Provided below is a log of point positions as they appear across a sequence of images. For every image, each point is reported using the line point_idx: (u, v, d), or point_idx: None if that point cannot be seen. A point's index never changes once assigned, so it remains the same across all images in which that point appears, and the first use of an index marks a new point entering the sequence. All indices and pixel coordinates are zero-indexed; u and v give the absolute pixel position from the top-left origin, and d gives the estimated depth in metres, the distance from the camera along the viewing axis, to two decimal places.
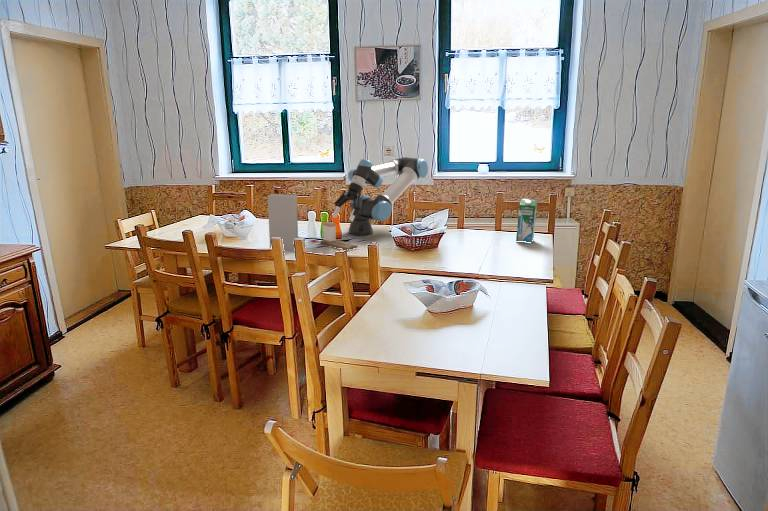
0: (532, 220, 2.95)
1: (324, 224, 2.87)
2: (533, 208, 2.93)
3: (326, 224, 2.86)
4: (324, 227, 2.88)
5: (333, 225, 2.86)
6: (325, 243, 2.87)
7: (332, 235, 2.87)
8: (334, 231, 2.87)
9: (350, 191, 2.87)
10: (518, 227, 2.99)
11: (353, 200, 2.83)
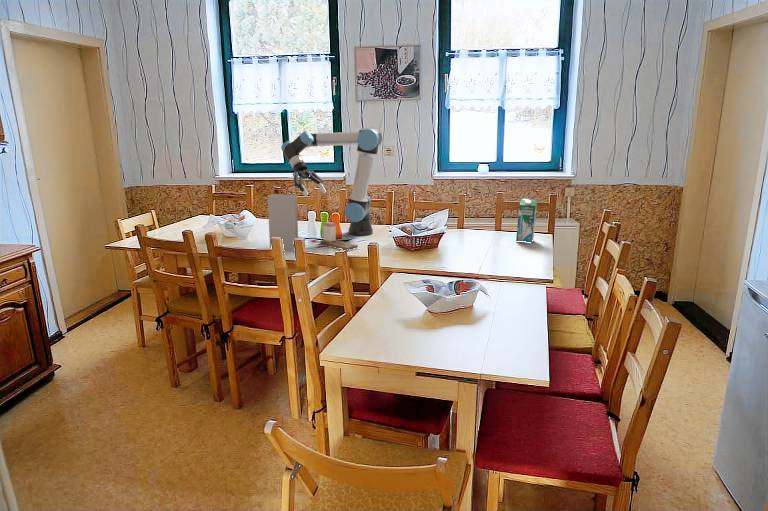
0: (532, 220, 2.95)
1: (324, 224, 2.87)
2: (533, 208, 2.93)
3: (326, 224, 2.86)
4: (324, 227, 2.88)
5: (333, 225, 2.86)
6: (325, 243, 2.87)
7: (332, 235, 2.87)
8: (334, 231, 2.87)
9: None
10: (518, 227, 2.99)
11: None
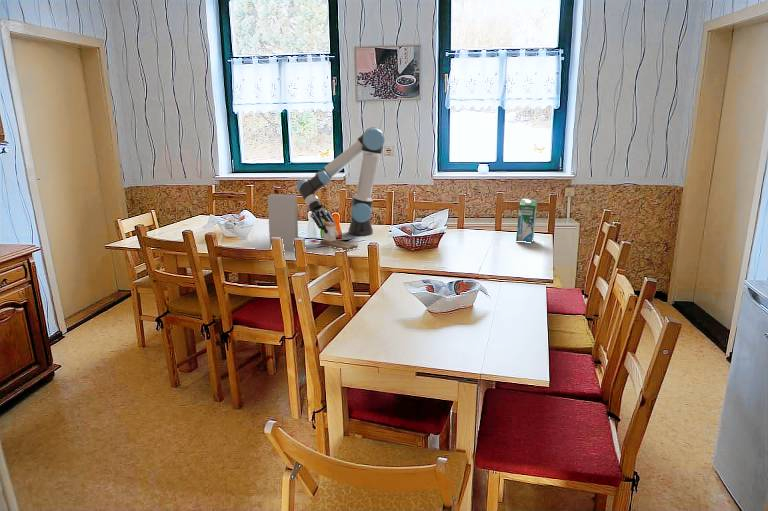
0: (532, 220, 2.95)
1: None
2: (533, 208, 2.93)
3: (326, 224, 2.86)
4: None
5: (333, 225, 2.86)
6: (325, 243, 2.87)
7: (332, 235, 2.87)
8: (334, 231, 2.87)
9: None
10: (518, 227, 2.99)
11: None
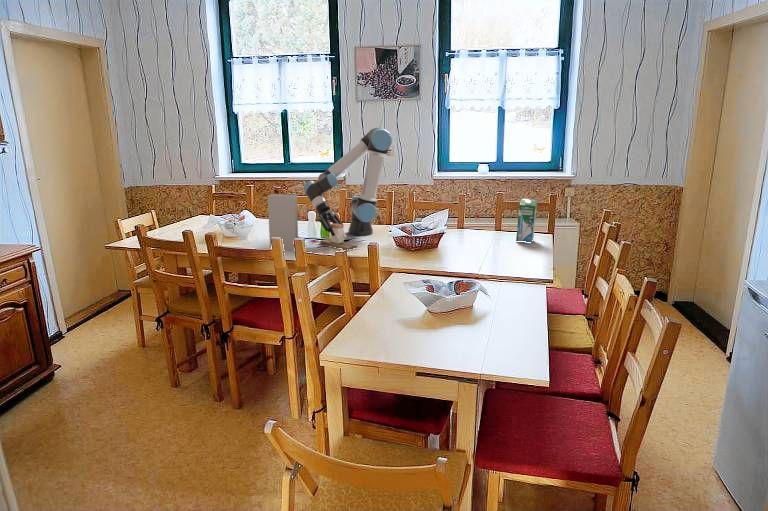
0: (532, 220, 2.95)
1: (332, 226, 2.83)
2: (533, 208, 2.93)
3: (334, 226, 2.82)
4: None
5: (341, 227, 2.82)
6: (325, 243, 2.87)
7: (340, 237, 2.83)
8: (342, 233, 2.83)
9: None
10: (518, 227, 2.99)
11: None
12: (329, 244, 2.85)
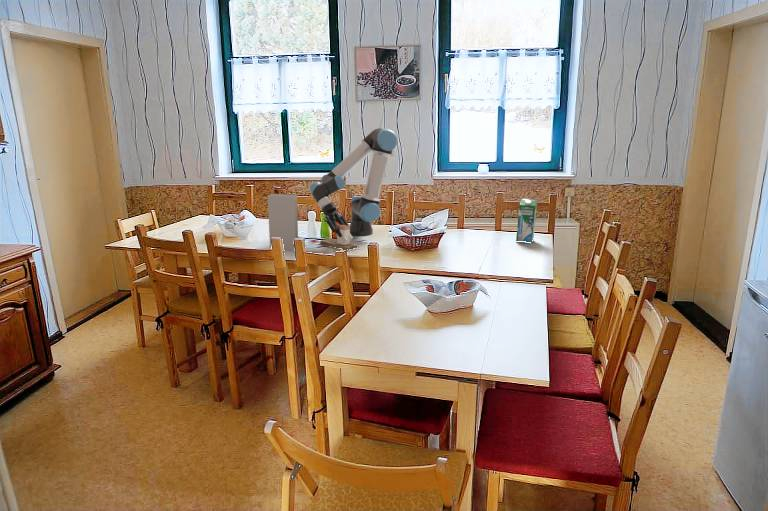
0: (532, 220, 2.95)
1: None
2: (533, 208, 2.93)
3: (340, 227, 2.79)
4: None
5: (347, 228, 2.79)
6: (325, 243, 2.87)
7: (347, 239, 2.80)
8: (348, 234, 2.80)
9: None
10: (518, 227, 2.99)
11: None
12: (329, 244, 2.85)
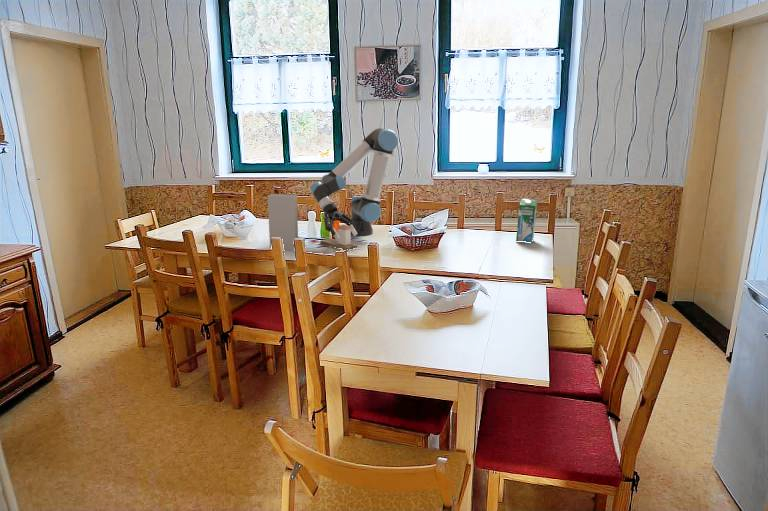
0: (532, 220, 2.95)
1: (339, 227, 2.80)
2: (533, 208, 2.93)
3: (341, 227, 2.79)
4: (338, 230, 2.80)
5: (348, 228, 2.78)
6: (325, 243, 2.87)
7: (347, 239, 2.80)
8: (349, 235, 2.80)
9: None
10: (518, 227, 2.99)
11: None
12: (329, 244, 2.85)
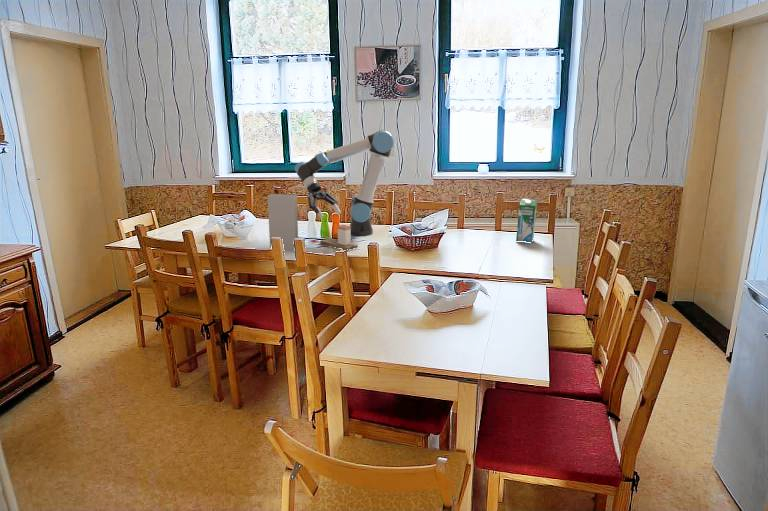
0: (532, 220, 2.95)
1: (339, 227, 2.80)
2: (533, 208, 2.93)
3: (341, 227, 2.79)
4: (338, 230, 2.80)
5: (348, 228, 2.78)
6: (325, 243, 2.87)
7: (347, 239, 2.80)
8: (349, 235, 2.80)
9: None
10: (518, 227, 2.99)
11: None
12: (329, 244, 2.85)
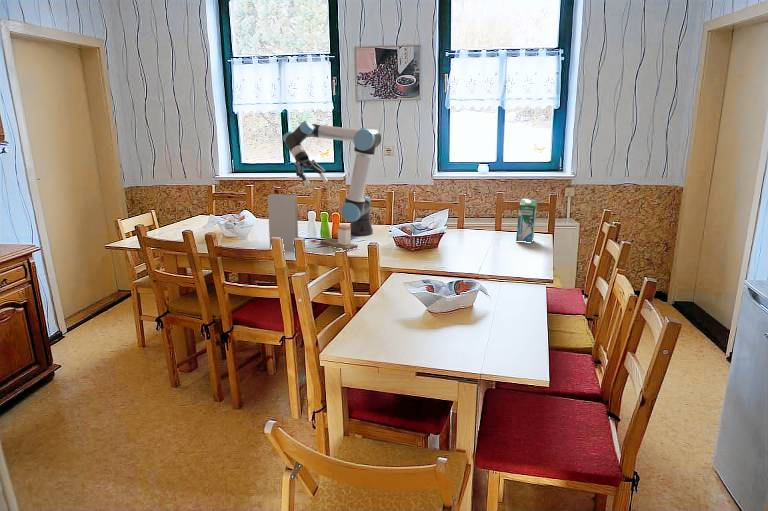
0: (532, 220, 2.95)
1: (339, 227, 2.80)
2: (533, 208, 2.93)
3: (341, 227, 2.79)
4: (338, 230, 2.80)
5: (348, 228, 2.78)
6: (325, 243, 2.87)
7: (347, 239, 2.80)
8: (349, 235, 2.80)
9: None
10: (518, 227, 2.99)
11: None
12: (329, 244, 2.85)
